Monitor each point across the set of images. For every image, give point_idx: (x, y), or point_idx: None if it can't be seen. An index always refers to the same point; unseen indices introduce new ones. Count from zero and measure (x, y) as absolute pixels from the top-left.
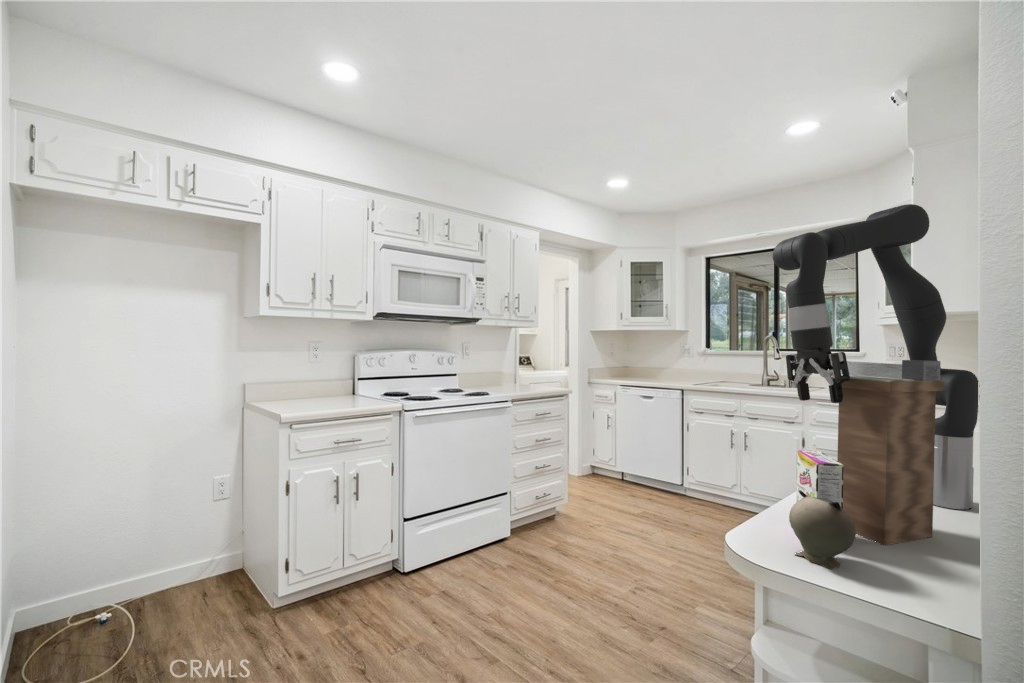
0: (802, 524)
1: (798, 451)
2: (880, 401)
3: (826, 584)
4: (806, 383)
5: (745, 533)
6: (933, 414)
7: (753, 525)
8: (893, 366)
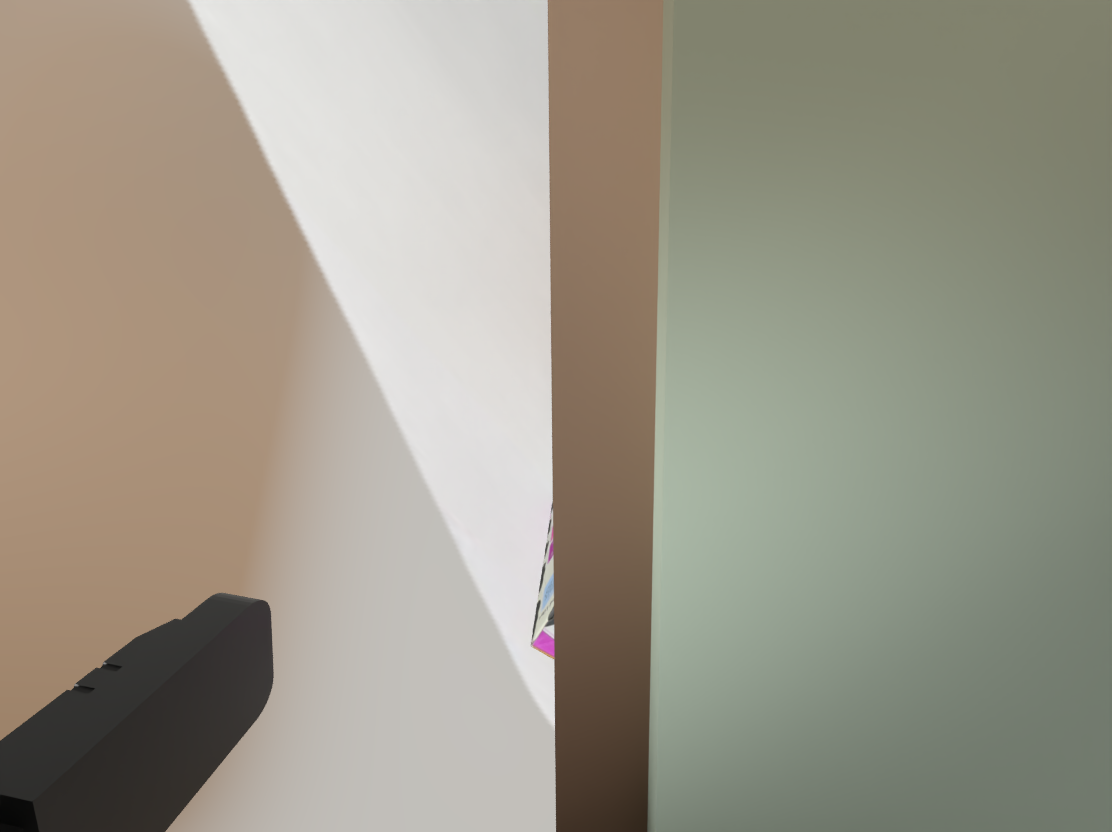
0: None
1: (549, 656)
2: None
3: None
4: (38, 830)
5: (554, 691)
6: None
7: (509, 623)
8: None
